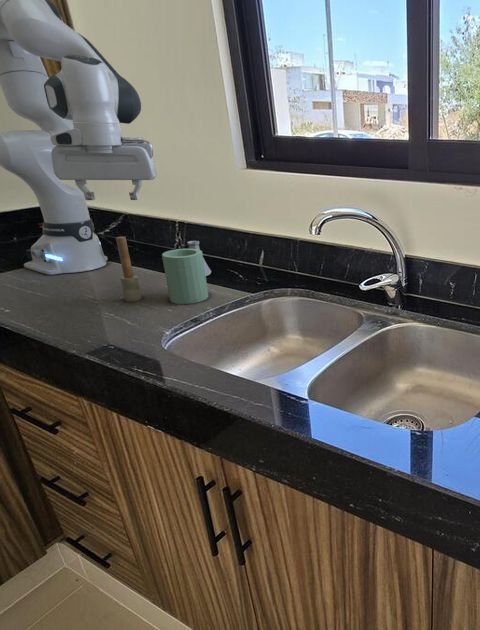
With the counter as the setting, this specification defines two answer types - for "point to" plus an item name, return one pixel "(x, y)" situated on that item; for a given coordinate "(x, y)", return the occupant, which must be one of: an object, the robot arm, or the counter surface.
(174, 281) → the jar
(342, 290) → the counter surface
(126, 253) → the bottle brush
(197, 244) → the flask
